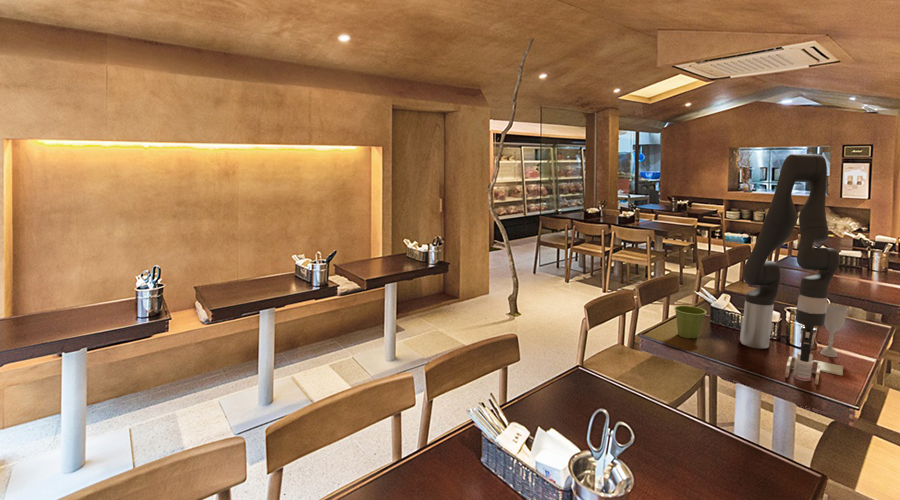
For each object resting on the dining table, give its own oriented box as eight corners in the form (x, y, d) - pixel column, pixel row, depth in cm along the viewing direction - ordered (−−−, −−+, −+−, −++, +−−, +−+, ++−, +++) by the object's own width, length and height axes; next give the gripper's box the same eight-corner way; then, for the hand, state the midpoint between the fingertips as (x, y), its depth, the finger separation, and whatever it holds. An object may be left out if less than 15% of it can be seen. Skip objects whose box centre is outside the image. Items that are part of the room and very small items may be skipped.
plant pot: (705, 343, 184) (707, 315, 182) (671, 338, 189) (674, 311, 187) (703, 333, 194) (705, 307, 192) (671, 329, 199) (674, 303, 197)
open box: (788, 366, 162) (789, 355, 161) (819, 373, 156) (821, 362, 156) (785, 376, 154) (786, 365, 153) (817, 384, 149) (819, 372, 148)
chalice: (838, 352, 173) (845, 306, 170) (844, 359, 167) (851, 311, 164) (814, 349, 176) (820, 303, 173) (819, 356, 170) (825, 308, 167)
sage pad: (813, 361, 166) (813, 360, 166) (842, 367, 161) (843, 366, 160) (812, 369, 160) (812, 367, 160) (842, 375, 155) (842, 374, 154)
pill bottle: (814, 381, 150) (817, 357, 149) (797, 380, 151) (800, 356, 150) (806, 375, 155) (809, 351, 154) (790, 374, 156) (793, 350, 155)
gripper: (798, 302, 157) (792, 347, 160) (795, 312, 146) (789, 361, 149) (827, 306, 152) (820, 353, 155) (825, 316, 141) (818, 367, 144)
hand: (805, 356), depth 152 cm, fingers open, 8 cm apart
